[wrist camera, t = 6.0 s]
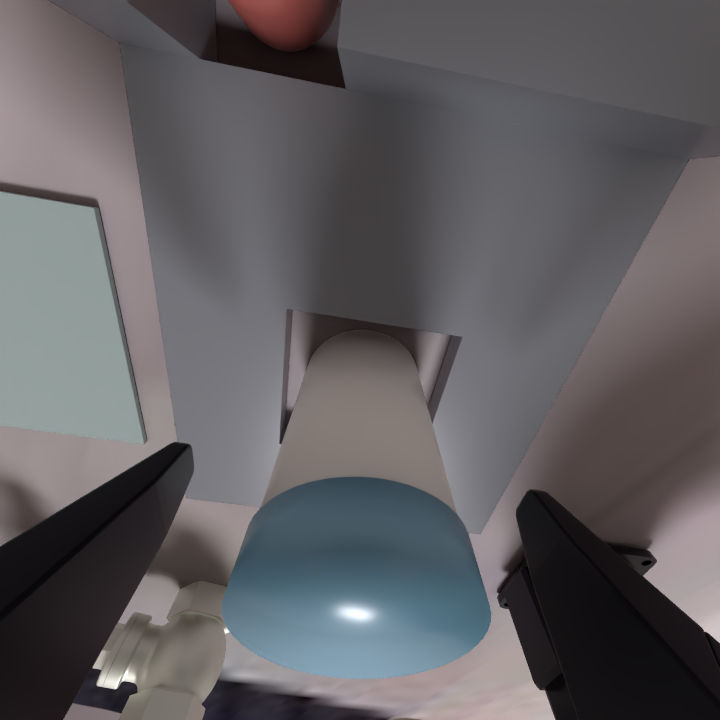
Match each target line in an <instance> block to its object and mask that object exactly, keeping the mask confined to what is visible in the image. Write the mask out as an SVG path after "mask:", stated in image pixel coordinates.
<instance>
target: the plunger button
mask: <svg viewBox="0 0 720 720" xmlns="http://www.w3.org/2000/svg"><path fill="white" fill-rule="evenodd" d="M228 1H229V3H230V4H231V5H232V7H233V8H234V9H235V11H236V12H237V14H238V15H239V16H240V18H241V19H242V20H243V22H244V23H245V24H246V26H247V27H248V29H249V30H250V31H251V32H252V33H253V34H254V35H255V36H256V37H257V38H258V39H259V40H261V41H262V42H263V43H265V44H266V45H268V46H270V47H272V48H274V49H278V50H281V51H288V52H289V51H298V50H302V49H305V48H307V47H309V46H311V45H312V44H314V43H315V42H316V41H317V40H319V39H320V38H321V37H322V36H323V34H324V33H325V32H326V31H327V29H328V27H329V26H330V24H331V22H332V20H333V18H334V16H335V13H336V11H337V8H338V4H339V0H228Z"/></svg>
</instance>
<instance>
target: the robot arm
mask: <svg viewBox="0 0 720 720" xmlns="http://www.w3.org/2000/svg"><path fill="white" fill-rule="evenodd" d="M193 473H194V458H193V450H192V446H191V445H190V444H188V443H181V442H173V443H171V444H169V445H168V446H166V447H164V448H163V449H161V450H159V451H158V452H156V453H154V454H153V455H151V456H149V457H148V458H146V459H144V460H143V461H141V462H139V463H138V464H136V465H134V466H133V467H131V468H129V469H128V470H126V471H124V472H123V473H121V474H119V475H118V476H116V477H114V478H113V479H111V480H109V481H108V482H106V483H104V484H103V485H101V486H99V487H98V488H96V489H95V490H93V491H91V492H90V493H88V494H86V495H85V496H83V497H81V498H80V499H78V500H76V501H75V502H73V503H71V504H70V505H68V506H66V507H65V508H63V509H61V510H60V511H58V512H56V513H55V514H53V515H51V516H50V517H48V518H46V519H45V520H43V521H41V522H40V523H38V524H36V525H35V526H33V527H31V528H30V529H28V530H26V531H25V532H23V533H21V534H20V535H18V536H17V537H15V538H13V539H12V540H10V541H8V542H7V543H5V544H3V545H2V546H0V720H63V719H64V717H65V715H66V713H67V712H68V710H69V708H70V707H71V705H72V703H73V701H74V699H75V698H76V696H77V694H78V692H79V690H80V689H81V687H82V685H83V683H84V682H85V680H86V678H87V676H88V674H89V673H90V671H91V669H92V667H93V666H94V664H95V662H96V660H97V658H98V657H99V655H100V653H101V651H102V650H103V648H104V646H105V644H106V642H107V641H108V639H109V637H110V635H111V633H112V632H113V630H114V628H115V626H116V625H117V623H118V621H119V619H120V617H121V616H122V614H123V612H124V610H125V609H126V607H127V605H128V603H129V601H130V600H131V598H132V596H133V594H134V593H135V591H136V589H137V587H138V585H139V584H140V582H141V580H142V578H143V576H144V575H145V573H146V571H147V569H148V568H149V566H150V564H151V562H152V560H153V559H154V557H155V555H156V553H157V552H158V550H159V548H160V546H161V544H162V543H163V541H164V539H165V537H166V535H167V533H168V531H169V529H170V526H171V524H172V522H173V520H174V517H175V515H176V513H177V510H178V508H179V506H180V504H181V501H182V499H183V497H184V494H185V492H186V490H187V487H188V485H189V483H190V481H191V478H192V476H193ZM516 518H517V522H518V527H519V531H520V535H521V539H522V543H523V548H524V552H525V556H526V557H525V558H524V560H523V561H522V562H521V564H520V565H519V567H518V568H517V570H516V571H515V572H514V574H513V575H512V577H511V578H510V579H509V581H508V582H507V584H506V585H505V587H504V588H503V589H502V591H501V592H500V594H499V595H498V597H497V599H498V602H499V605H500V607H502V608H505V609H509V611H510V613H511V616H512V619H513V622H514V625H515V628H516V631H517V634H518V637H519V640H520V643H521V646H522V649H523V652H524V655H525V658H526V661H527V664H528V666H529V669H530V672H531V675H532V678H533V681H534V683H535V685H536V686H537V687H538V688H539V690H545V692H546V694H547V697H548V700H549V703H550V706H551V709H552V711H553V714H554V717H555V720H720V643H719V642H718V641H716V640H715V639H714V638H713V637H712V636H711V635H710V634H708V633H707V632H704V630H703V629H702V628H701V627H700V626H699V625H698V624H697V623H696V622H695V621H693V620H692V619H691V618H690V617H689V616H688V615H687V614H685V613H684V612H683V611H682V610H681V609H680V608H679V607H677V606H676V605H675V604H674V603H673V602H672V601H670V600H669V599H668V598H667V597H666V596H665V595H664V594H662V593H661V592H660V591H659V590H658V589H657V588H656V587H654V586H653V585H652V584H651V583H650V582H649V581H648V580H646V579H645V578H644V577H643V575H644V574H645V573H646V572H647V571H648V570H649V569H650V568H652V567H653V566H654V565H655V564H656V562H657V560H656V559H655V557H654V556H653V555H652V553H651V552H650V551H648V550H642V549H634V548H626V547H618V546H610V545H606V544H605V543H604V542H603V541H602V540H601V539H599V538H598V537H597V536H596V535H595V534H594V533H593V532H591V531H590V530H589V529H588V528H587V527H586V526H585V525H583V524H582V523H581V522H580V521H579V520H578V519H577V518H575V517H574V516H573V515H572V514H571V513H570V512H569V511H567V510H566V509H565V508H564V507H563V506H562V505H561V504H559V503H558V502H557V501H556V500H555V499H554V498H552V497H551V496H550V495H549V494H548V493H546V492H544V491H540V490H532V489H531V490H528V491H527V492H526V494H525V496H524V497H523V499H522V500H521V502H520V504H519V505H518V507H517V510H516Z"/></svg>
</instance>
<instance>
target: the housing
mask: <svg viewBox="0 0 720 720" xmlns="http://www.w3.org/2000/svg"><path fill="white" fill-rule="evenodd" d="M48 1H50V2H52V3H54V4H55V5H57V6H59V7H60V8H62V9H64V10H65V11H67V12H69V13H70V14H72V15H74V16H75V17H77V18H79V19H80V20H82V21H84V22H85V23H87V24H89V25H90V26H92V27H94V28H96V29H97V30H99V31H101V32H102V33H104V34H106V35H107V36H109V37H111V38H112V39H114V40H116V41H117V42H119V44H120V51H121V58H122V65H123V71H124V78H125V85H126V92H127V99H128V106H129V113H130V119H131V126H132V133H133V140H134V147H135V154H136V160H137V167H138V174H139V181H140V188H141V195H142V201H143V208H144V215H145V222H146V229H147V236H148V243H149V249H150V256H151V263H152V270H153V277H154V284H155V290H156V297H157V304H158V311H159V318H160V325H161V332H162V338H163V345H164V352H165V359H166V366H167V373H168V379H169V386H170V393H171V400H172V407H173V414H174V420H175V427H176V434H177V441H178V442H181V443H188V444H190V445H191V446H192V450H193V458H194V473H193V476H192V478H191V481H190V483H189V485H188V487H187V490H186V492H185V496H186V498H188V499H196V500H204V501H212V502H220V503H228V504H237V505H245V506H253V507H261V504H262V501H263V498H264V495H265V492H266V489H267V486H268V483H269V480H270V477H271V474H272V471H273V468H274V465H275V462H276V459H277V456H278V453H279V450H280V447H281V444H282V441H283V438H284V435H285V432H286V429H287V428H285V417H286V402H287V387H288V371H289V356H290V340H291V325H292V310H298V311H304V312H310V313H317V314H323V315H329V316H335V317H342V318H348V319H354V320H360V321H367V322H373V323H379V324H385V325H391V326H398V327H404V328H410V329H416V330H423V331H429V332H435V333H441V334H448V335H452V336H451V339H450V342H449V345H448V348H447V352H446V355H445V358H444V361H443V364H442V367H441V370H440V373H439V376H438V379H437V382H436V385H435V388H434V391H433V394H432V397H431V400H430V403H429V406H428V411H429V414H430V418H431V421H432V425H433V428H434V432H435V436H436V439H437V443H438V446H439V450H440V453H441V457H442V461H443V464H444V468H445V471H446V475H447V479H448V482H449V486H450V489H451V493H452V496H453V500H454V504H455V507H456V511H457V514H458V516H459V518H460V519H461V520H462V522H463V523H464V525H465V527H466V529H467V531H468V533H474V534H481V532H482V530H483V529H484V527H485V525H486V523H487V521H488V520H489V518H490V516H491V514H492V513H493V511H494V509H495V507H496V505H497V504H498V502H499V500H500V498H501V496H502V495H503V493H504V491H505V489H506V487H507V486H508V484H509V482H510V480H511V478H512V477H513V475H514V473H515V471H516V469H517V468H518V466H519V464H520V462H521V460H522V459H523V457H524V455H525V453H526V451H527V450H528V448H529V446H530V444H531V443H532V441H533V439H534V437H535V435H536V434H537V432H538V430H539V428H540V426H541V425H542V423H543V421H544V419H545V417H546V416H547V414H548V412H549V410H550V408H551V407H552V405H553V403H554V401H555V399H556V398H557V396H558V394H559V392H560V390H561V389H562V387H563V385H564V383H565V381H566V380H567V378H568V376H569V374H570V373H571V371H572V369H573V367H574V365H575V364H576V362H577V360H578V358H579V356H580V355H581V353H582V351H583V349H584V347H585V346H586V344H587V342H588V340H589V338H590V337H591V335H592V333H593V331H594V329H595V328H596V326H597V324H598V322H599V320H600V319H601V317H602V315H603V313H604V311H605V310H606V308H607V306H608V304H609V302H610V301H611V299H612V297H613V295H614V294H615V292H616V290H617V288H618V286H619V285H620V283H621V281H622V279H623V277H624V276H625V274H626V272H627V270H628V268H629V267H630V265H631V263H632V261H633V259H634V258H635V256H636V254H637V252H638V250H639V249H640V247H641V245H642V243H643V241H644V240H645V238H646V236H647V234H648V232H649V231H650V229H651V227H652V225H653V224H654V222H655V220H656V218H657V216H658V215H659V213H660V211H661V209H662V207H663V206H664V204H665V202H666V200H667V198H668V197H669V195H670V193H671V191H672V189H673V188H674V186H675V184H676V182H677V180H678V179H679V177H680V175H681V173H682V171H683V170H684V168H685V166H686V164H687V162H688V161H689V159H696V158H706V157H717V156H720V0H342V2H341V13H340V23H339V34H338V44H337V48H338V53H339V58H340V63H341V68H342V73H343V77H344V82H345V87H346V89H344V88H339V87H334V86H329V85H324V84H319V83H314V82H309V81H305V80H300V79H295V78H290V77H285V76H280V75H275V74H270V73H265V72H260V71H256V70H251V69H246V68H241V67H236V66H231V65H226V64H221V63H217V37H216V11H215V0H48Z"/></svg>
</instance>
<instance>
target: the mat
mask: <svg viewBox="0 0 720 720" xmlns="http://www.w3.org/2000/svg"><path fill="white" fill-rule="evenodd" d="M0 425H1V426H8V427H16V428H23V429H31V430H39V431H46V432H54V433H61V434H69V435H77V436H84V437H92V438H99V439H107V440H115V441H122V442H130V443H138V444H145V443H146V442H147V439H146V434H145V429H144V424H143V420H142V415H141V410H140V405H139V400H138V395H137V391H136V386H135V381H134V376H133V371H132V366H131V362H130V357H129V352H128V347H127V342H126V337H125V333H124V328H123V323H122V318H121V313H120V308H119V303H118V299H117V294H116V289H115V284H114V279H113V274H112V270H111V265H110V260H109V255H108V250H107V245H106V241H105V236H104V231H103V226H102V221H101V216H100V212H99V208H97V207H92V206H86V205H80V204H74V203H69V202H63V201H57V200H51V199H45V198H40V197H34V196H28V195H22V194H17V193H11V192H5V191H0Z"/></svg>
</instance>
